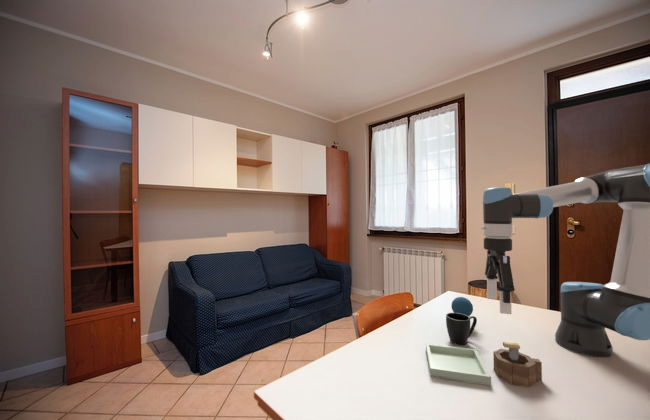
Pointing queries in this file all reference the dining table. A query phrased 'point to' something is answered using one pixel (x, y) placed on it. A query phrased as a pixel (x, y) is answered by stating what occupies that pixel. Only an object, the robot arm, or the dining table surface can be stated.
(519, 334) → the dining table surface
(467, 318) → the mug
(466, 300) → the light bulb
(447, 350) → the tray
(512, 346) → the door handle
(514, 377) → the ring
